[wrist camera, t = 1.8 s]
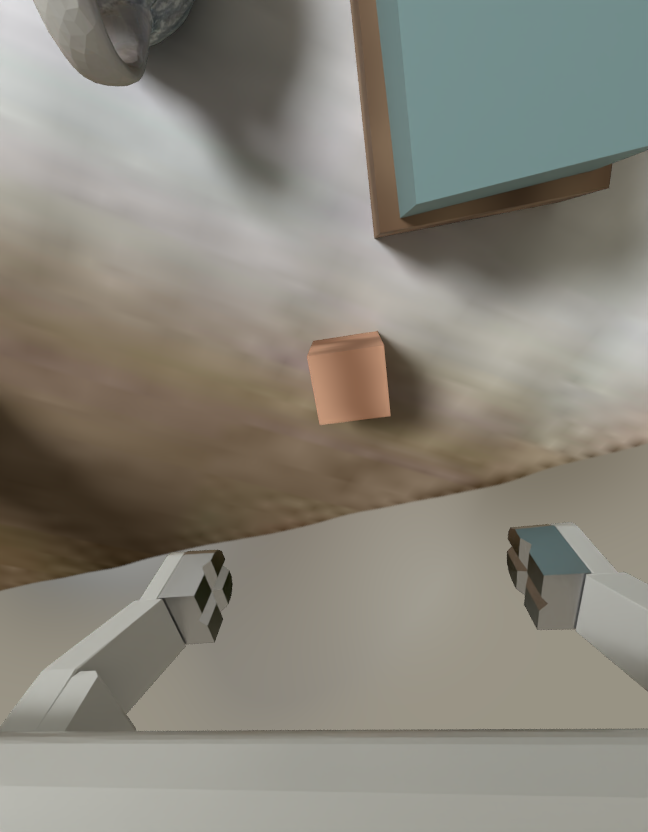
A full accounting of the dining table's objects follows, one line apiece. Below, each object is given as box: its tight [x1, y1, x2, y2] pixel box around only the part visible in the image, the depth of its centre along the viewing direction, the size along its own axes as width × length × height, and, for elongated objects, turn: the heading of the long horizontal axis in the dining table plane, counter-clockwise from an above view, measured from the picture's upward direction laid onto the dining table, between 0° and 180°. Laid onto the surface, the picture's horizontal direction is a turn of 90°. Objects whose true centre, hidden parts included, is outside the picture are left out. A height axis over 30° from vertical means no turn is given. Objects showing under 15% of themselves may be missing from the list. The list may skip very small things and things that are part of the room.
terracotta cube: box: [307, 331, 391, 425], centre depth 25 cm, size 5×5×5 cm
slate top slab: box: [376, 0, 648, 218], centre depth 14 cm, size 10×10×5 cm
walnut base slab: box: [350, 0, 612, 238], centre depth 19 cm, size 12×12×5 cm
